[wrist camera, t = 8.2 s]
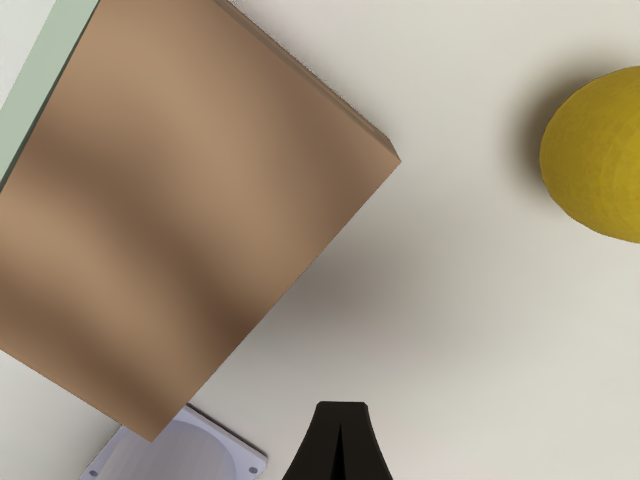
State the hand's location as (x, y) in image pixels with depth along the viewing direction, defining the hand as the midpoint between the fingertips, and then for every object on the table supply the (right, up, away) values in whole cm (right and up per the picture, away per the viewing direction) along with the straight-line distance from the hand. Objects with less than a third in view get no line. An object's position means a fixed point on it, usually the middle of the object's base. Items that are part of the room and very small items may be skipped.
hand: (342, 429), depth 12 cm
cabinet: (-7, +7, +8) cm, 12 cm away
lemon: (+10, +10, +6) cm, 15 cm away
